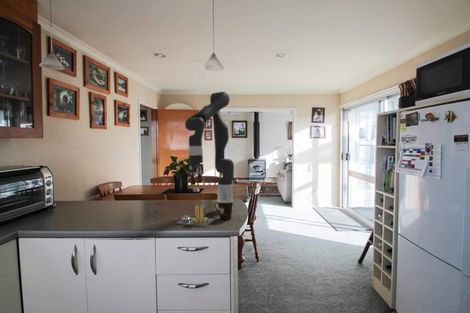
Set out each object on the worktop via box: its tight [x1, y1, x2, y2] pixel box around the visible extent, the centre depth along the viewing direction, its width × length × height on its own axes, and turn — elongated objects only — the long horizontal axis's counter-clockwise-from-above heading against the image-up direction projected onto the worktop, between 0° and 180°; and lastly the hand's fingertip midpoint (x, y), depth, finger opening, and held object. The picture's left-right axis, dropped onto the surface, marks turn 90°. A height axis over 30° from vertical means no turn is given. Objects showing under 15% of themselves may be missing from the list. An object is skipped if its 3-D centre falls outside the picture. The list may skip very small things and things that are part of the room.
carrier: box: [176, 214, 216, 227], centre depth 151 cm, size 12×17×5 cm
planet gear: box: [192, 204, 209, 223], centre depth 150 cm, size 8×8×8 cm
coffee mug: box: [213, 200, 234, 221], centre depth 160 cm, size 12×9×10 cm
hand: (196, 183), depth 153 cm, fingers open, 8 cm apart
